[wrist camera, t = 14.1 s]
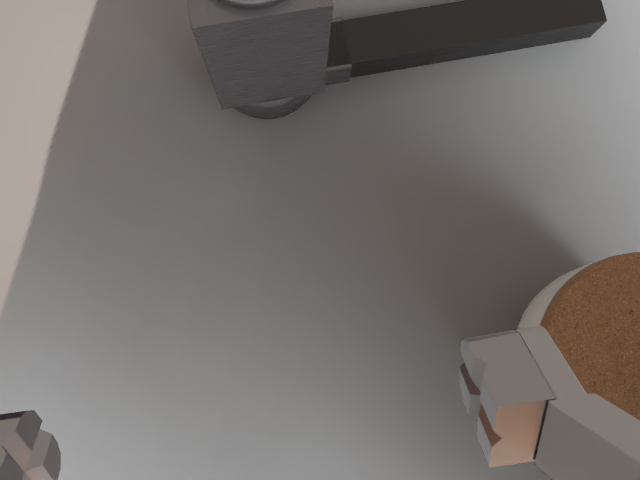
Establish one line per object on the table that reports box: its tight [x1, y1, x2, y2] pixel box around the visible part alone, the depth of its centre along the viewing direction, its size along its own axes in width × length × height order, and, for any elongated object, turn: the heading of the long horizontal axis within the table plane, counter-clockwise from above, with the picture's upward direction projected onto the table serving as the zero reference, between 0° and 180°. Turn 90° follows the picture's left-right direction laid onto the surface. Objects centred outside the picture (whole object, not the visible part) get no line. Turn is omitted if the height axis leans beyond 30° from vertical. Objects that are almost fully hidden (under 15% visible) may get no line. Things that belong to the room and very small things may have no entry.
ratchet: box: [234, 0, 607, 119], centre depth 33 cm, size 24×6×5 cm, turn 101°
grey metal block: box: [187, 0, 333, 109], centre depth 27 cm, size 6×6×10 cm
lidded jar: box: [517, 252, 640, 420], centre depth 28 cm, size 11×11×9 cm
